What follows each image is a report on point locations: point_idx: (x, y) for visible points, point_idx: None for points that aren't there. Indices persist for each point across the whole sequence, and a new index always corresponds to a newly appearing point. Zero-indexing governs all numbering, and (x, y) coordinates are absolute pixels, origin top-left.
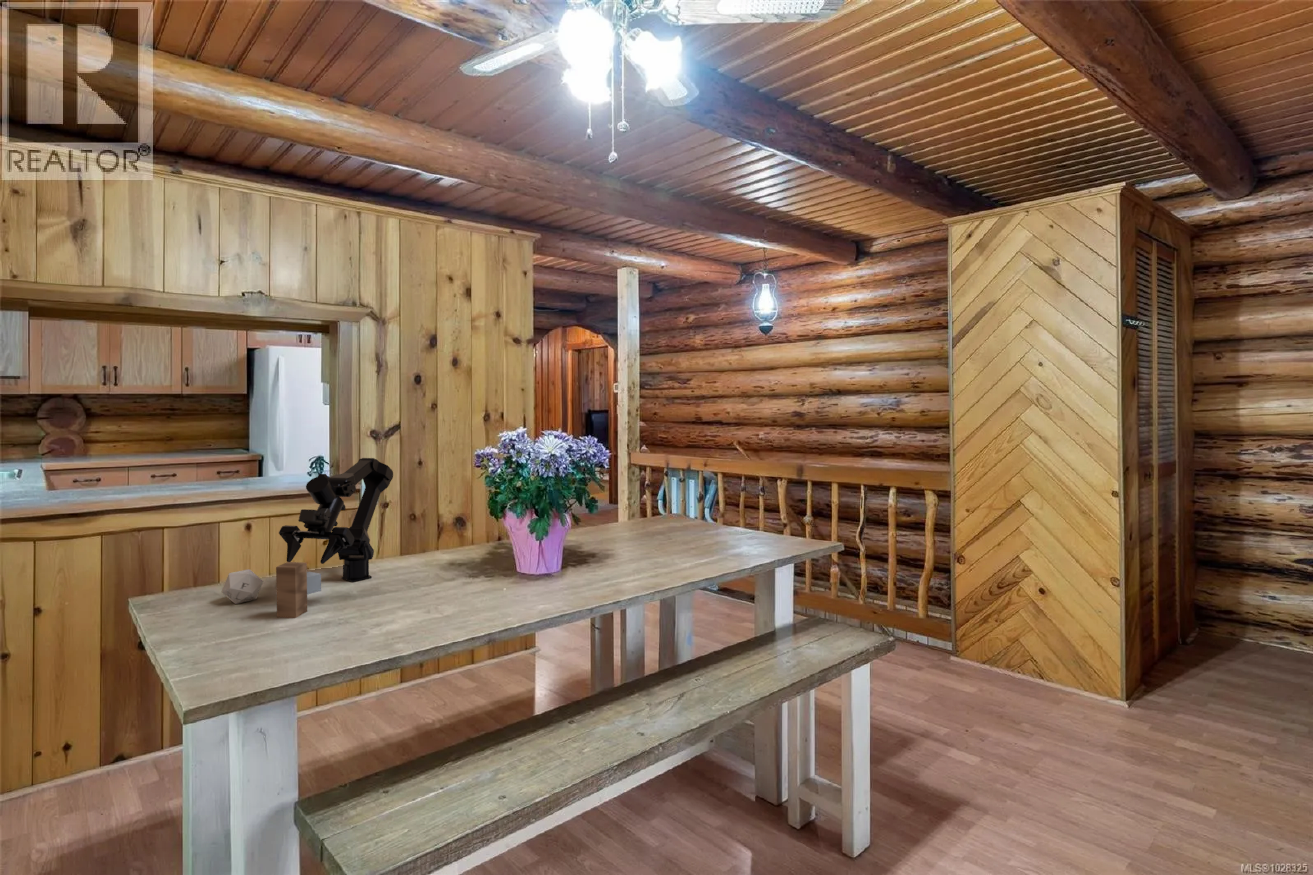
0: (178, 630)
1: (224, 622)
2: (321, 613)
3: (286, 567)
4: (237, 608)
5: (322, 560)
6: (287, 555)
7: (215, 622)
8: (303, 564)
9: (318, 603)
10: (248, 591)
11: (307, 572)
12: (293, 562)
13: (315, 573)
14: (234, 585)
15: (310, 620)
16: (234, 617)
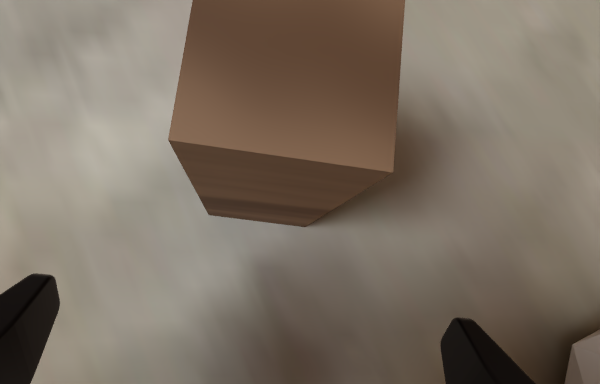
0: (589, 8)
1: (489, 82)
2: (123, 183)
3: None
4: (551, 264)
5: (16, 284)
6: (513, 366)
7: (522, 84)
8: (180, 83)
9: (205, 353)
10: (593, 338)
11: None
12: (322, 148)
13: None
14: None
15: (138, 84)
16: (489, 141)
